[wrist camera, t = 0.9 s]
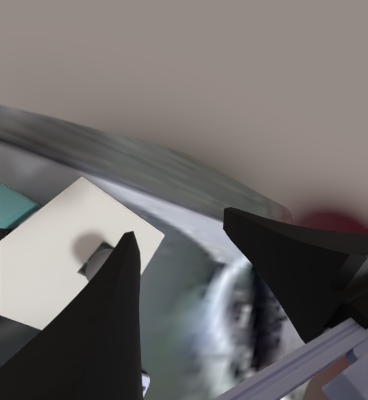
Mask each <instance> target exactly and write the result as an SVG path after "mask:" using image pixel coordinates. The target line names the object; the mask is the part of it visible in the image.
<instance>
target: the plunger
mask: <svg viewBox="0 0 368 400" xmlns="http://www.w3.org/2000/svg"><path fill="white" fill-rule="evenodd" d="M112 251H113V249H104V250H101V251H99V252H97V253H96V254H95V255H94V256H93V257H92V258H91V260H90V261H89V263H88V264H87V267H86V271H85V274H86V278H87V280H88V282H89V281H90V280H91V279H92V278H93V276H94V275H95V274H96V273H97V272H98V270H99V269H100V268H101V266H102V265H103V264H104V262H105V261H106V260H107V258H108V257H109V255H110V254H111V252H112Z"/></svg>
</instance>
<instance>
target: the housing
mask: <svg viewBox="0 0 368 400" xmlns="http://www.w3.org/2000/svg"><path fill="white" fill-rule="evenodd" d="M130 231H134V234H135V237H136V240H137V243H138V247H139V250H140V257H141V274H142V273H143V271H144V269H145V268H146V266H147V264H148V263H149V261H150V259H151V258H152V256H153V254H154V253H155V251H156V249H157V248H158V246H159V244H160V243H161V241H162V239H163V238H164V236H165V235H164V234H163V233H161V232H160V231H158V230H157V229H156V228H154V227H153V226H151V225H150V224H149V223H147V222H146V221H144V220H143V219H141V218H140V217H139V216H137V215H136V214H134V213H133V212H132V211H130V210H129V209H127V208H126V207H125V206H123V205H122V204H120V203H119V202H118V201H116V200H115V199H113V198H112V197H110V196H109V195H108V194H106V193H105V192H103V191H102V190H101V189H99V188H98V187H96V186H95V185H94V184H92V183H91V182H89V181H88V180H87V179H85V178H84V177H80V178H79V179H78V180H76V181H75V182H74V183H73V184H71V185H70V186H69V187H68V188H66V189H65V190H64V191H63V192H61V193H60V194H59V195H58V196H56V197H55V198H54V199H53V200H51V201H50V202H49V203H47V204H46V205H45V206H44V207H42V208H41V209H40V210H39V211H37V212H36V213H35V214H34V215H32V216H31V217H30V218H29V219H27V220H26V221H25V222H23V223H22V224H21V225H20V226H18V227H17V228H16V229H15V230H13V231H12V232H11V233H10V234H8V235H7V236H6V237H5V238H3V239H2V240H1V241H0V315H1V316H4V317H7V318H9V319H12V320H15V321H18V322H20V323H23V324H26V325H29V326H32V327H34V328H37V329H40V330H43V329H44V328H45V327H46V326H47V325H48V324H49V323H50V322H51V321H52V320H53V319H54V318H55V317H56V316H57V315H58V314H59V313H60V312H61V311H62V310H63V309H64V308H65V307H66V306H67V305H68V304H69V303H70V302H71V301H72V300H73V299H74V298H75V297H76V296H77V295H78V294H79V292H80V291H81V290H82V289H83V288H84V287H85V286H86V285H87V283H88V280H87V278H86V274H85V271H86V267H87V263H85V262H86V261H87V260H88V259H89V257H90V256H91V255H92V254H93V253H94V252H95V250H96V249H97V248H98V247H99V246H100V245H101V246H103V247H105V248H106V249H114V248H115V246H116V245H117V243H118V242H119V240H120V239H121V237H122V236H123V234H124V233H126V232H130Z"/></svg>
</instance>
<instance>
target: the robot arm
mask: <svg viewBox="0 0 368 400" xmlns="http://www.w3.org/2000/svg"><path fill="white" fill-rule="evenodd" d="M223 229H224V231H225V232H226V234H227V235H228V237H229V238H230V240H231V241H232V242H233V243H234V244H235V245H236V246H237V248H238V249H239V250H240V251H241V252H242V253H243V254H244V255H245V256H246V258H247V259H248V260H249V261H250V262H251V263H252V265H253V266H254V267H255V268H256V270H257V271H258V273H259V274H260V275H261V277H262V278H263V279H264V281H265V282H266V284H267V285H268V287H269V288H270V289H271V291H272V292H273V294H274V295H275V297H276V298H277V300H278V302H279V303H280V305H281V306H282V308H283V309H284V311H285V313H286V314H287V316H288V317H289V319H290V321H291V322H292V324H293V326H294V327H295V329H296V331H297V333H298V334H299V336H300V338H301V339H302V340H303V341H304V343H305V345H304V346H302V347H300V348H299V349H297V350H295V351H294V352H292V353H290V354H288V355H287V356H285V357H283V358H282V359H280V360H278V361H277V362H275V363H273V364H272V365H270V366H268V367H267V368H265V369H263V370H262V371H260V372H258V373H257V374H255V375H253V376H252V377H250V378H248V379H247V380H245V381H243V382H242V383H240V384H238V385H236V386H235V387H233V388H231V389H230V390H228V391H226V392H225V393H223V394H221V395H220V396H218V397H216V398H215V399H213V400H280V399H282V398H283V397H285V396H286V395H288V394H289V393H290V392H292V391H293V390H295V389H296V388H298V387H299V386H301V385H302V384H304V383H305V382H307V381H308V380H310V379H311V378H312V377H314V376H315V375H317V374H318V373H320V372H321V371H322V370H324V369H326V368H327V367H328V366H330V365H331V364H333V363H334V362H336V361H337V360H339V359H340V358H342V357H343V356H345V355H346V359H347V361H348V363H349V367H348V368H347V369H346V370H344V371H343V372H342V373H340V374H339V375H338V376H337V377H335V378H334V379H333V380H331V381H330V382H329V383H327V384H326V385H325V386H323V387H322V388H323V392H324V393H325V394H326V395H327V397H328V399H329V400H368V234H360V233H347V232H336V231H327V230H319V229H312V228H306V227H300V226H296V225H291V224H286V223H282V222H278V221H274V220H271V219H267V218H264V217H261V216H257V215H254V214H251V213H248V212H245V211H242V210H239V209H236V208H232V207H229V208H225V209H224V223H223ZM140 276H141V257H140V250H139V247H138V243H137V240H136V237H135V234H134V231H130V232H126V233H124V234H123V236H122V237H121V239H120V240H119V242H118V243H117V245H116V246H115V248H114V249H113V251H112V252H111V254H110V255H109V257H108V258H107V260H106V261H105V262H104V264H103V265H102V266H101V268H100V269H99V270H98V272H97V273H96V274H95V275H94V276H93V278H92V279H91V280H90V281H89V282H88V283H87V285H86V286H85V287H84V288H83V289H82V290H81V291H80V292H79V294H78V295H77V296H76V297H75V298H74V299H73V300H72V301H71V302H70V303H69V304H68V305H67V306H66V307H65V308H64V309H63V310H62V311H61V312H60V313H59V314H58V315H57V316H56V317H55V318H54V319H53V320H52V321H51V322H50V323H49V324H48V325H47V326H46V327H45V328H44V329H43V330H42V331H41V332H39V333H38V334H37V335H36V336H35V337H34V338H33V339H32V340H31V341H30V342H29V343H28V344H26V345H25V346H24V347H23V348H22V349H21V350H20V351H19V352H18V353H17V354H15V355H14V356H13V357H12V358H11V359H10V360H8V361H7V362H6V363H5V364H4V365H3V366H2V367H0V400H144V399H143V397H144V395H145V393H146V390H147V388H148V385H149V382H150V378H149V376H148V375H146V374H143V373H142V368H141V349H140V325H139V294H140ZM143 386H144V388H143Z"/></svg>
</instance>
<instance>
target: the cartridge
mask: <svg viewBox="0 0 368 400" xmlns="http://www.w3.org/2000/svg"><path fill="white" fill-rule="evenodd" d="M41 208H42V206H41V205H39V204H37V203H36V202H34V201H32V200H31V199H29V198H27V197H26V196H24V195H22V194H21V193H19V192H17V191H16V190H14V189H12V188H10V187H8V186H6V185H5V184H3V183H1V182H0V228H3V229H14V230H15V229H16V228H17V227H18V226H20V225H21V224H22V223H23V222H25V221H26V220H27V219H29V218H30V217H31V216H32V215H34V214H35V213H36V212H37V211H39V210H40V209H41ZM104 249H106V248H105V247H103V246H101V245H100V246H99V247H98V248H97V249H96V250H95V252H94V253H93V254H92V255H91V256H90V257H89V259H88V260H87V261H86V262H85V263H87V264H88V263H89V261H90V260H91V258H92V257H93V256H94V255H95V254H96V253H97V252H99V251H101V250H104Z"/></svg>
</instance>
